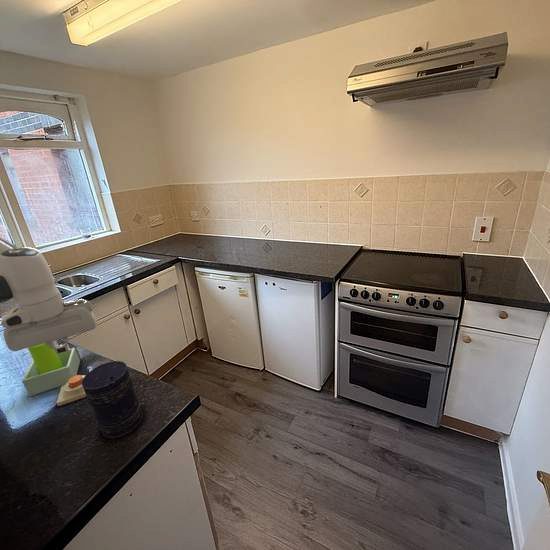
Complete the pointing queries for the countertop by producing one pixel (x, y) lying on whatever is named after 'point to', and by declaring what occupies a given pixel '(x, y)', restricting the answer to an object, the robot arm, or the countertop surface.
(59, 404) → the control box
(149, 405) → the countertop surface
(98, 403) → the storage jar
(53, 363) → the soap dispenser
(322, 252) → the countertop surface
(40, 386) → the box
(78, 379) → the button
